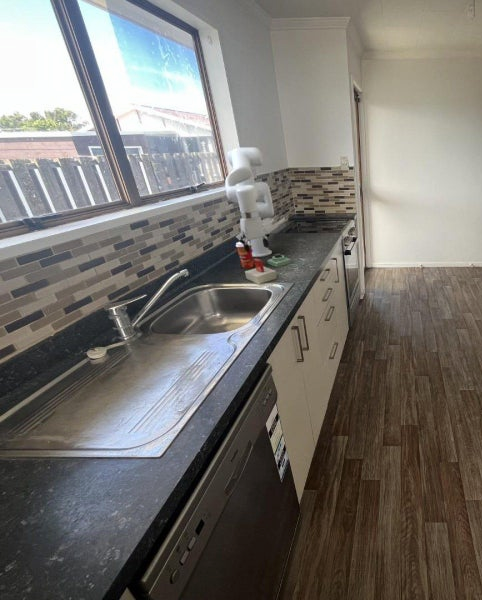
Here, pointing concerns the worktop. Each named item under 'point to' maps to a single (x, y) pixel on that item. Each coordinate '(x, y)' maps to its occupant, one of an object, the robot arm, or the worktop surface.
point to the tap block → (261, 275)
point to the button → (278, 255)
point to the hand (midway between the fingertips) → (257, 249)
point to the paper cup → (245, 255)
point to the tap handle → (259, 265)
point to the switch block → (278, 261)
